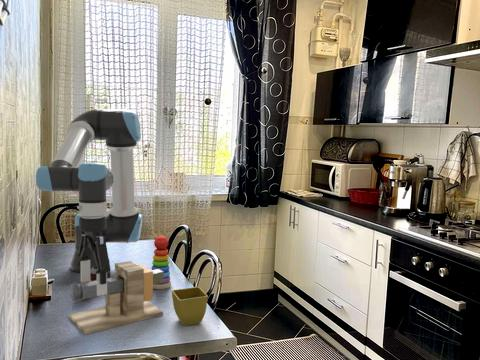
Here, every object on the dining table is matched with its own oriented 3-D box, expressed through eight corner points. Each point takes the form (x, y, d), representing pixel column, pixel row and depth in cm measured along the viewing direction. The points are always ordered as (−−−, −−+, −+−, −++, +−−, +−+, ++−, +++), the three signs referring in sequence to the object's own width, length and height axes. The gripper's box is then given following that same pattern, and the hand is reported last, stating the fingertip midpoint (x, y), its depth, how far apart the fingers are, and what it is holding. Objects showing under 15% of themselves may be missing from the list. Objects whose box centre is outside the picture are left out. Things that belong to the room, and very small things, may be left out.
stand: (69, 317, 134) (68, 269, 133) (143, 300, 149) (143, 256, 147) (85, 334, 123) (84, 282, 122) (162, 314, 138) (163, 267, 136)
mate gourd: (108, 292, 156) (108, 250, 154) (85, 292, 155) (84, 250, 153) (112, 285, 163) (111, 244, 162) (89, 285, 162) (89, 245, 161)
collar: (131, 292, 143) (131, 265, 142) (140, 291, 145) (140, 264, 144) (143, 301, 136) (143, 273, 135) (152, 299, 138) (152, 271, 137)
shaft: (70, 298, 129) (69, 282, 129) (157, 280, 146) (157, 266, 146) (75, 304, 125) (75, 287, 125) (164, 285, 143) (164, 270, 142)
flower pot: (178, 330, 128) (179, 300, 127) (170, 318, 136) (171, 289, 135) (207, 325, 131) (208, 296, 130) (198, 314, 139) (198, 286, 138)
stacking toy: (166, 291, 158) (166, 239, 156) (145, 289, 160) (145, 238, 158) (174, 284, 166) (174, 234, 164) (154, 282, 167) (154, 233, 165)
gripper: (66, 211, 136) (67, 278, 138) (95, 224, 116) (95, 303, 118) (90, 209, 141) (91, 274, 143) (122, 222, 121) (122, 297, 123)
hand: (93, 287), depth 131 cm, fingers open, 13 cm apart
